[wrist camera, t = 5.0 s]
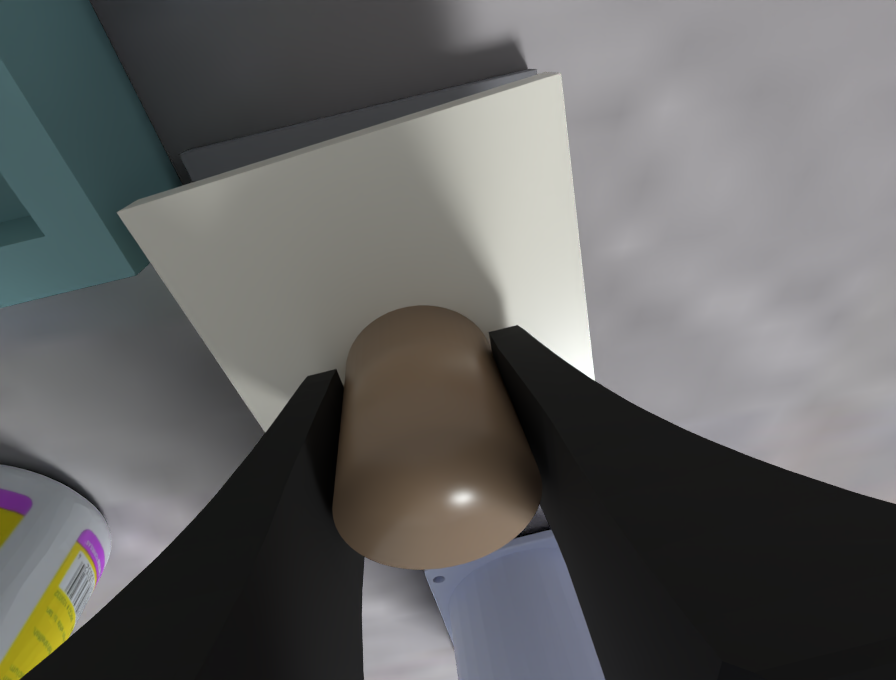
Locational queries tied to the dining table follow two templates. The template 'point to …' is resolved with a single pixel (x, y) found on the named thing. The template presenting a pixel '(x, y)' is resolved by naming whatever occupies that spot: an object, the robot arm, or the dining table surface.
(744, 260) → the dining table surface
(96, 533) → the supplement bottle
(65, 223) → the box
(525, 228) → the lid
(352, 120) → the pad
